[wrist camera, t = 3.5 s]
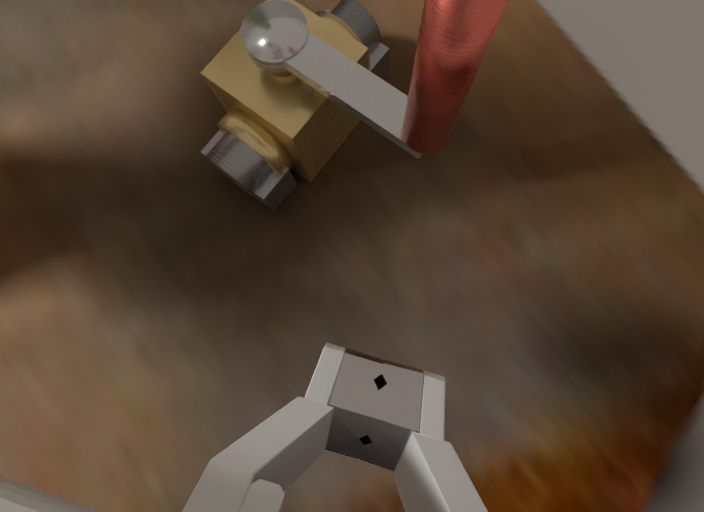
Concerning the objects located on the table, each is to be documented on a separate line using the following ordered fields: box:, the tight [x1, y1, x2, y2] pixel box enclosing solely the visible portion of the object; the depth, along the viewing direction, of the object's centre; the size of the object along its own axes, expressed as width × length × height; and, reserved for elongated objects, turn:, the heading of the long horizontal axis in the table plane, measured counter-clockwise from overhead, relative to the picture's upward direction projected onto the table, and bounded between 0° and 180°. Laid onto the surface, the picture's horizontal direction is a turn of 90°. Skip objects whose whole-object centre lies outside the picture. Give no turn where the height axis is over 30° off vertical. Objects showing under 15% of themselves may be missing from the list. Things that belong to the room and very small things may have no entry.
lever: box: [240, 0, 508, 159], centre depth 17 cm, size 14×4×11 cm, turn 52°
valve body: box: [201, 0, 389, 212], centre depth 28 cm, size 16×8×9 cm, turn 142°
